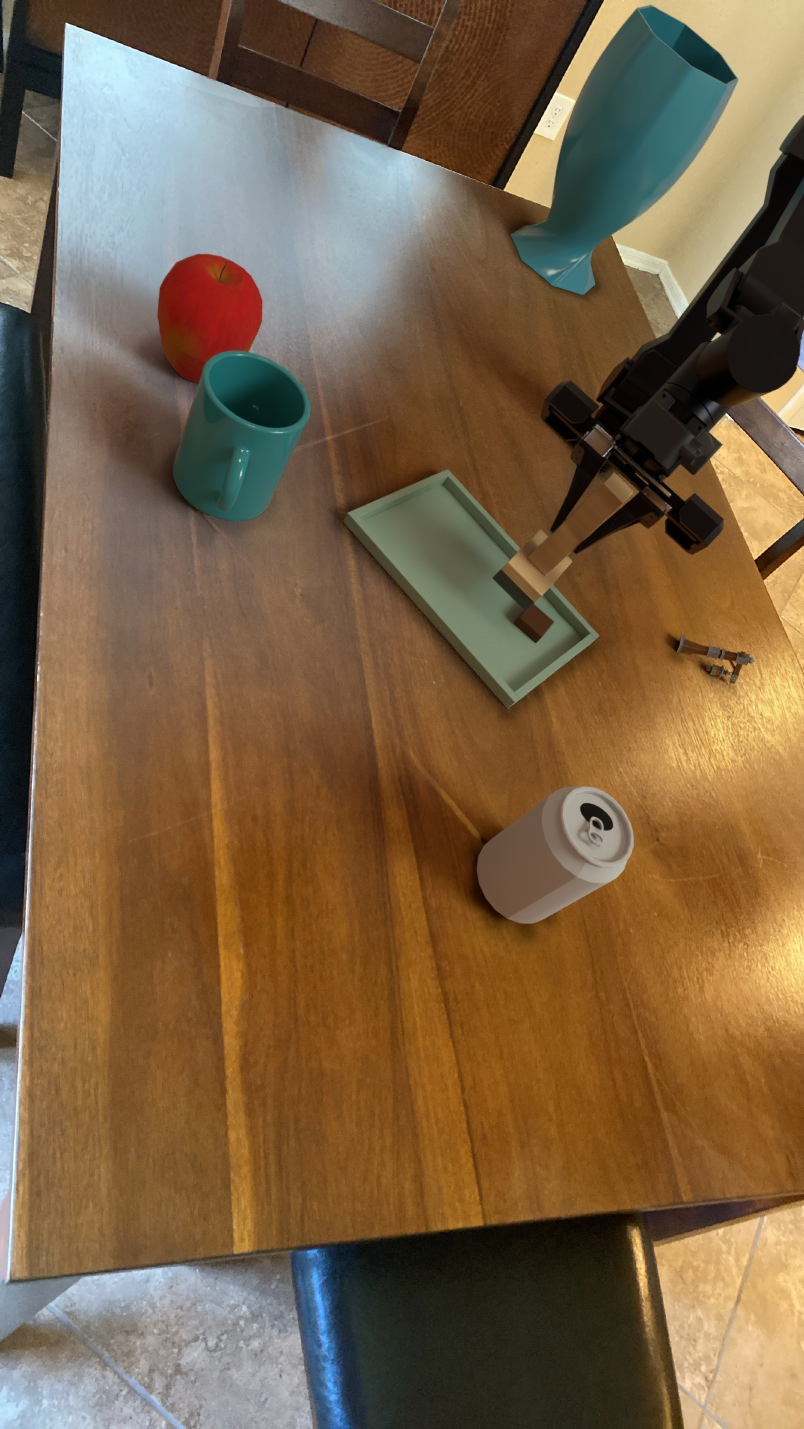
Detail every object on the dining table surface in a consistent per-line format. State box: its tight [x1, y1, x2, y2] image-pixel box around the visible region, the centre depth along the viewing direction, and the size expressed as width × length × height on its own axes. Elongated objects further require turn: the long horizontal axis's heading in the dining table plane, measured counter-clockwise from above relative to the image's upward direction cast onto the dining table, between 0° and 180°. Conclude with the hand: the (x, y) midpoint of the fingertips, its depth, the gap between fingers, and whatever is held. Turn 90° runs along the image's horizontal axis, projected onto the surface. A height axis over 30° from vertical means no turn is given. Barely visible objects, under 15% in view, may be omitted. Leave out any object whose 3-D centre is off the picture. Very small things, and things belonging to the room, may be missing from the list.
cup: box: [172, 351, 312, 522], centre depth 73 cm, size 9×12×11 cm
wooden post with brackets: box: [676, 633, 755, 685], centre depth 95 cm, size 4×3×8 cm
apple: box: [156, 253, 264, 384], centre depth 80 cm, size 9×9×12 cm
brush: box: [493, 471, 634, 611], centre depth 78 cm, size 7×4×14 cm, turn 145°
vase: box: [510, 4, 739, 296], centre depth 119 cm, size 17×17×30 cm
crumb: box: [514, 604, 554, 643], centre depth 86 cm, size 3×3×1 cm
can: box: [476, 785, 635, 925], centre depth 66 cm, size 8×8×12 cm
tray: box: [342, 468, 600, 710], centre depth 85 cm, size 16×24×2 cm, turn 46°
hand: (562, 542), depth 77 cm, fingers closed on brush, 2 cm apart
